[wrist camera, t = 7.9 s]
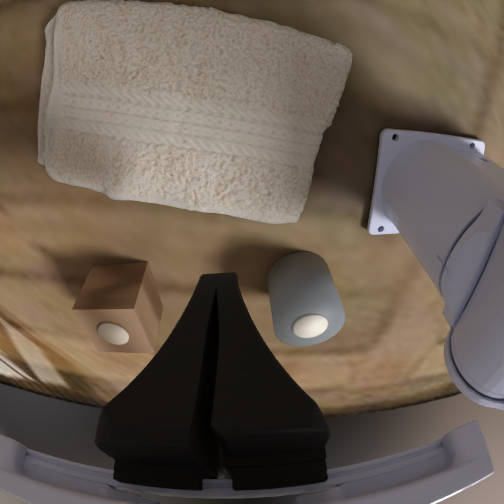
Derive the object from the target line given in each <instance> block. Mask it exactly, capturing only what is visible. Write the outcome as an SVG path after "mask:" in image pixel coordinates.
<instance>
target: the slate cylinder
mask: <svg viewBox="0 0 504 504" xmlns="http://www.w3.org/2000/svg"><path fill="white" fill-rule="evenodd" d="M267 285H268V292H269V298H270V305H271V312H272V319H273V326H274V332H275V335H276V337H277V338H278V339H279V340H280V341H282V342H283V343H285V344H288V345H292V346H310V345H315V344H318V343H321V342H324V341H326V340H328V339H329V338H331V337H333V336H334V335H335V334H336V333H337V332H338V331H339V330H340V329H341V328H342V326H343V324H344V322H345V312H344V309H343V306H342V304H341V301H340V298H339V295H338V292H337V290H336V287H335V284H334V281H333V279H332V276H331V273H330V271H329V268H328V265H327V263H326V262H325V260H324V259H323V258H322V257H320V256H319V255H317V254H315V253H311V252H294V253H290V254H287V255H285V256H283V257H281V258H280V259H278V260H277V261H276V262H275V263H274V264H273V265H272V266H271V268H270V269H269V271H268V274H267Z"/></svg>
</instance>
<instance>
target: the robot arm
mask: <svg viewBox="0 0 504 504" xmlns="http://www.w3.org/2000/svg"><path fill="white" fill-rule="evenodd" d="M394 134H396V138H395V139H394V140H392V136H393V135H394ZM471 143H472V145H471V147H470V144H471ZM484 149H485V144H484V142H483V141H481V140H478V139H472V138H466V137H460V136H453V135H446V134H438V133H430V132H421V131H411V130H401V129H388V128H387V129H384V130H382V132H381V133H380V140H379V149H378V158H377V166H376V174H375V181H374V189H373V195H372V202H371V208H370V214H369V220H368V226H367V230H368V231H369V233H370V234H372V235H378V234H394V233H400V234H401V235H402V237H403V238H404V240H405V241H406V242H407V244H408V245H409V247H410V248H411V250H412V251H413V253H414V254H415V256H416V257H417V258H418V260H419V261H420V263H421V264H422V266H423V267H424V269H425V271H426V272H427V274H428V275H429V277H430V278H431V280H432V281H433V283H434V285H435V286H436V288H437V289H438V291H439V293H440V294H441V296H442V297H443V299H444V302H445V307H444V310H443V315H444V317H445V318H446V320H447V322H448V324H449V326H450V327H451V329H450V331H449V333H448V334H447V337H446V340H445V345H444V359H445V364H446V367H447V370H448V373H449V375H450V377H451V379H452V380H453V382H454V383H455V385H456V386H457V388H458V389H459V390H460V391H461V392H462V393H463V394H464V395H465V396H467V397H468V398H469V399H470V400H472V401H474V402H476V403H478V404H480V405H483V406H487V407H493V408H498V409H501V410H504V169H503V168H502V167H500V166H499V165H497V164H496V163H494V162H493V161H492V160H490V159H489V158H487V157H486V156H484V155H483V154H484ZM380 226H382V227H381V228H380V229H378V228H379V227H380ZM329 438H330V431H329V428H328V425H327V422H326V420H325V418H324V416H323V414H322V412H321V410H320V409H319V407H318V405H317V403H316V402H315V401H314V400H313V399H312V398H311V397H310V396H308V395H307V394H306V393H305V392H304V391H303V390H302V389H301V387H300V386H299V385H298V384H297V383H296V382H295V381H294V380H293V379H292V378H291V377H290V375H289V374H288V373H287V372H286V370H285V369H284V368H283V367H282V365H281V364H280V363H279V362H278V360H277V359H276V358H275V356H274V355H273V354H272V352H271V351H270V349H269V348H268V346H267V345H266V343H265V342H264V340H263V339H262V337H261V335H260V333H259V332H258V330H257V328H256V326H255V324H254V323H253V321H252V319H251V317H250V315H249V312H248V310H247V308H246V305H245V303H244V301H243V298H242V295H241V292H240V289H239V285H238V279H237V274H236V273H234V272H232V273H217V274H203V275H202V276H201V277H200V279H199V281H198V284H197V286H196V288H195V291H194V293H193V295H192V297H191V299H190V301H189V303H188V305H187V307H186V309H185V311H184V312H183V314H182V316H181V318H180V319H179V321H178V323H177V324H176V326H175V328H174V329H173V331H172V333H171V334H170V336H169V337H168V339H167V340H166V341H165V343H164V344H163V346H162V347H161V348H160V350H159V351H158V352H157V354H156V355H155V356H154V357H153V359H152V360H151V361H150V362H149V364H148V365H147V366H146V367H145V368H144V369H143V370H142V371H141V373H140V374H139V375H138V376H137V377H136V378H135V379H134V380H133V381H132V382H131V383H130V384H129V385H128V386H127V387H126V388H125V389H124V390H123V391H121V392H120V393H119V394H118V395H117V396H116V397H114V398H113V399H112V400H111V401H110V402H109V403H107V404H106V405H105V406H104V407H103V409H102V412H101V415H100V418H99V421H98V426H97V431H96V436H95V444H96V446H97V447H98V448H99V449H100V450H102V451H103V452H104V453H106V454H107V455H109V456H110V457H112V458H114V459H115V465H114V470H109V469H103V468H98V467H93V466H89V465H84V464H79V463H76V462H71V461H67V460H63V459H60V458H56V457H53V456H49V455H46V454H43V453H39V452H36V451H33V450H30V449H27V448H26V447H25V446H24V445H22V444H21V443H19V442H17V441H15V440H13V439H10V438H8V437H5V436H3V435H0V489H1V490H3V491H5V492H7V493H9V494H11V495H13V496H14V497H17V498H19V499H21V500H23V501H25V502H27V503H29V504H160V503H159V502H155V501H152V500H148V499H146V498H143V497H142V496H140V495H137V494H132V493H128V492H124V491H119V490H116V489H121V490H126V491H133V492H139V493H147V494H155V495H165V496H175V497H189V498H256V497H270V496H281V495H291V494H299V493H306V492H313V491H318V492H313V493H309V494H305V495H300V496H297V498H296V502H294V504H435V503H437V502H440V501H441V500H444V499H446V498H448V497H450V496H452V495H454V494H456V493H458V492H460V491H462V490H464V489H466V488H468V487H470V486H472V485H474V484H476V483H477V482H479V481H481V480H483V479H485V478H486V477H488V476H490V475H492V474H493V473H494V467H493V464H492V461H491V458H490V455H489V451H488V448H487V445H486V442H485V439H484V436H483V434H482V431H481V428H480V425H479V423H478V420H474V421H472V422H469V423H467V424H465V425H462V426H460V427H457V428H455V429H453V430H451V431H450V432H448V433H447V434H445V435H444V436H443V437H442V439H439V440H436V441H434V442H431V443H428V444H425V445H423V446H419V447H417V448H413V449H411V450H407V451H404V452H401V453H397V454H394V455H390V456H387V457H383V458H379V459H376V460H372V461H368V462H363V463H359V464H355V465H350V466H345V467H340V468H335V469H330V470H327V468H326V462H325V459H326V452H325V445H326V443H327V441H328V440H329ZM224 468H226V470H227V471H228V473H229V475H230V476H231V479H223V478H224V477H225V473H224ZM336 487H337V488H336ZM325 489H326V490H325ZM320 490H322V491H320Z"/></svg>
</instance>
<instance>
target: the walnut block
mask: <svg viewBox="0 0 504 504" xmlns="http://www.w3.org/2000/svg"><path fill="white" fill-rule="evenodd" d="M162 309H163V305H162V302H161V300H160V297H159V294H158V291H157V288H156V285H155V282H154V279H153V276H152V272H151V269H150V266H149V263H148V262H137V263H123V264H108V265H94V266H92V268H91V270H90V272H89V274H88V276H87V278H86V280H85V282H84V285H83V287H82V289H81V291H80V293H79V295H78V298H77V300H76V302H75V304H74V307H73V309H72V310H73V312H74V314H75V315H76V317H77V319H78V320H79V322H80V324H81V325H82V327H83V329H84V330H85V332H86V333H87V335H88V337H89V338H90V340H91V341H92V343H93V344H94V346H95V347H96V349H97V350H98V352H125V353H154V352H155V346H156V341H157V335H158V330H159V325H160V319H161V314H162Z"/></svg>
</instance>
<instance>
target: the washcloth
mask: <svg viewBox="0 0 504 504" xmlns="http://www.w3.org/2000/svg"><path fill="white" fill-rule="evenodd" d="M44 33H45V37H46V48H45V61H44V68H43V74H42V80H41V92H40V102H39V115H38V160H37V161H38V163H39V164H41V165H45V167H46V171H47V173H48V174H49V176H50V177H51V178H52V179H54V180H56V181H58V182H61V183H67V184H69V185H73V186H80V187H84V188H90V189H92V190H95V191H98V192H102V193H104V194H106V195H107V196H108V197H109V198H111V199H115V200H135V201H141V202H149V203H158V204H162V205H168V206H173V207H177V208H182V209H188V210H191V211H192V210H196V211H201V212H206V213H209V212H213V213H221V214H228V215H231V216H235V217H240V218H246V219H249V220H255V221H261V222H265V223H273V224H276V223H278V224H279V223H295V222H297V221H298V219H299V217H300V214H301V212H302V211H303V210H304V205H305V202H306V200H307V195H308V192H309V190H310V185H311V182H312V174H313V172H314V166H313V164H314V162H315V158H316V155H317V153H318V151H319V145H320V143H321V141H322V138H323V135H322V134H323V132H324V131H325V130H326V128H328V127H330V126H331V124H332V120H333V118H334V115H335V113H336V109H337V107H338V106H340V105H339V101H340V98H341V97H342V93H343V91H344V88H345V84H346V79H347V76H348V74H349V71H350V68H351V65H352V53H351V51H350V50H349V49H347V47H345V46H342V45H341V44H339V43H338V42H337V43H332V42H331V41H330V40H328V39H324V38H321V37H318V36H315V35H312V34H307V33H304V32H299V31H298V30H296V29H294V28H293V27H289V26H282V25H279V24H277V23H276V22H271V21H268V20H259V19H252V18H248V17H246V16H243V15H241V14H230V13H225V12H223V11H220V10H218V9H215V8H212V7H210V8H209V7H208V8H205V7H196V6H193V7H192V6H187V5H185V4H181V5H174V4H173V3H168V2H165V3H163V2H157V3H155V2H153V3H149V2H141V1H138V0H136V1H131V0H130V1H124V0H119V1H118V0H111V1H105V0H87V1H75V2H73V1H70V2H66V3H65V4H62V5H61V6H60V7H59V9H58V10H57V14H56V15H55V16H54V17H53V18H52V19H51V20H50V21H49V23H48V24H47V25H46V27H45V30H44Z"/></svg>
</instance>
